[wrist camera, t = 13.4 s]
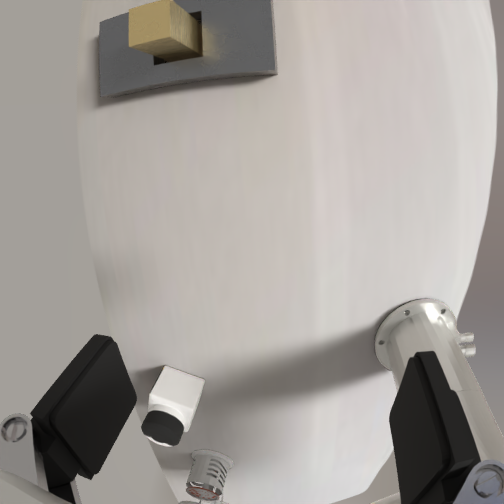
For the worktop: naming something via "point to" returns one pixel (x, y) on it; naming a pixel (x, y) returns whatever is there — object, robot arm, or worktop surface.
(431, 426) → the robot arm
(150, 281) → the worktop surface
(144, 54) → the grey socket block
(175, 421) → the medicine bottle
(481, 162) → the worktop surface
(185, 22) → the brass peg
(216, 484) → the french press
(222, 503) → the adjustable wrench
